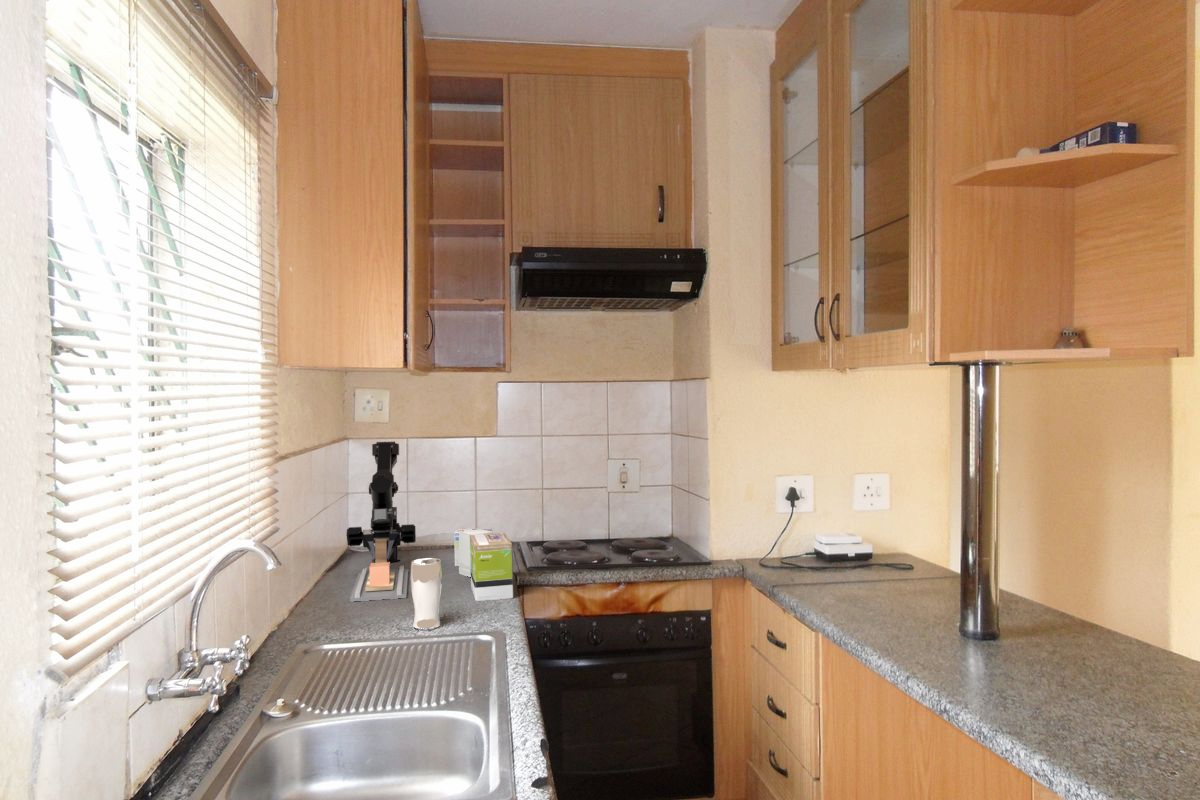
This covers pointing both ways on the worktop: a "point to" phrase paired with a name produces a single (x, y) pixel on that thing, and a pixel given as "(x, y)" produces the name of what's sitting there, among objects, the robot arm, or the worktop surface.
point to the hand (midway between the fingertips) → (381, 560)
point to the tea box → (491, 566)
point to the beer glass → (426, 591)
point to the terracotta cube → (380, 573)
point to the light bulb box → (456, 544)
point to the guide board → (396, 593)
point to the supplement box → (467, 550)
